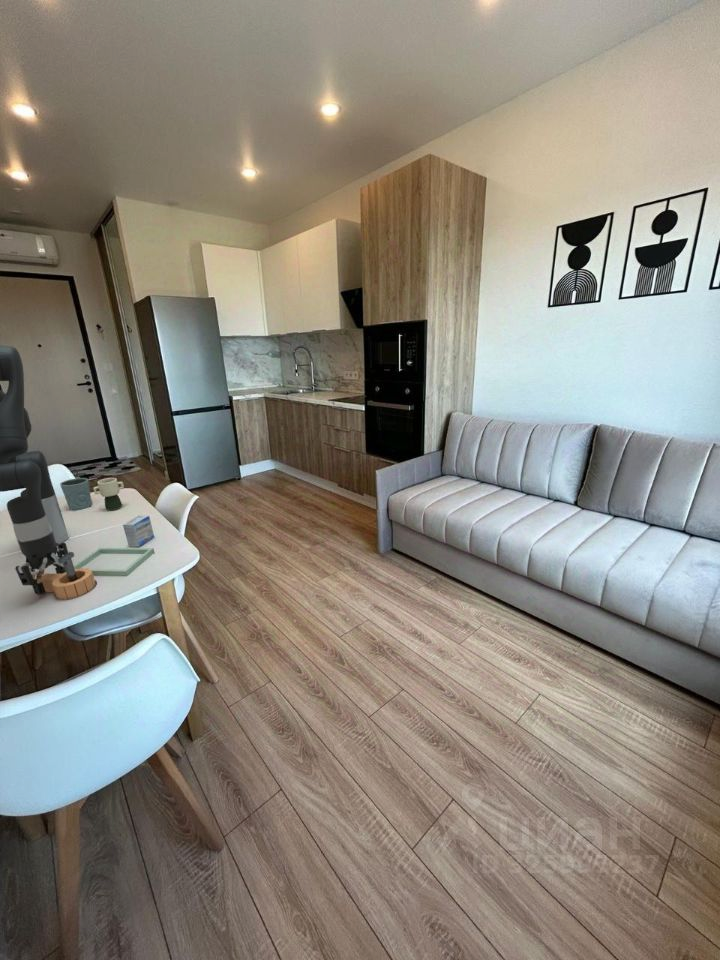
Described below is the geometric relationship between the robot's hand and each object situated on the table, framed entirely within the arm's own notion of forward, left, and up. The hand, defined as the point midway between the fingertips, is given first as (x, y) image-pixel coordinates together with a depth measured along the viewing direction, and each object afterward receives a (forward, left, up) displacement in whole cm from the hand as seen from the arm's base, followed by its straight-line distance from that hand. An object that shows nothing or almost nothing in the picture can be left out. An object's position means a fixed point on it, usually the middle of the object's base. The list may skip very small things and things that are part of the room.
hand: (52, 586), depth 110 cm
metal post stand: (+7, 0, -2) cm, 7 cm away
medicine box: (+7, +30, -2) cm, 31 cm away
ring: (+4, 0, -1) cm, 5 cm away
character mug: (-25, +60, -2) cm, 65 cm away
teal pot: (-42, +62, -2) cm, 75 cm away
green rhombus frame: (+8, +14, -2) cm, 16 cm away
